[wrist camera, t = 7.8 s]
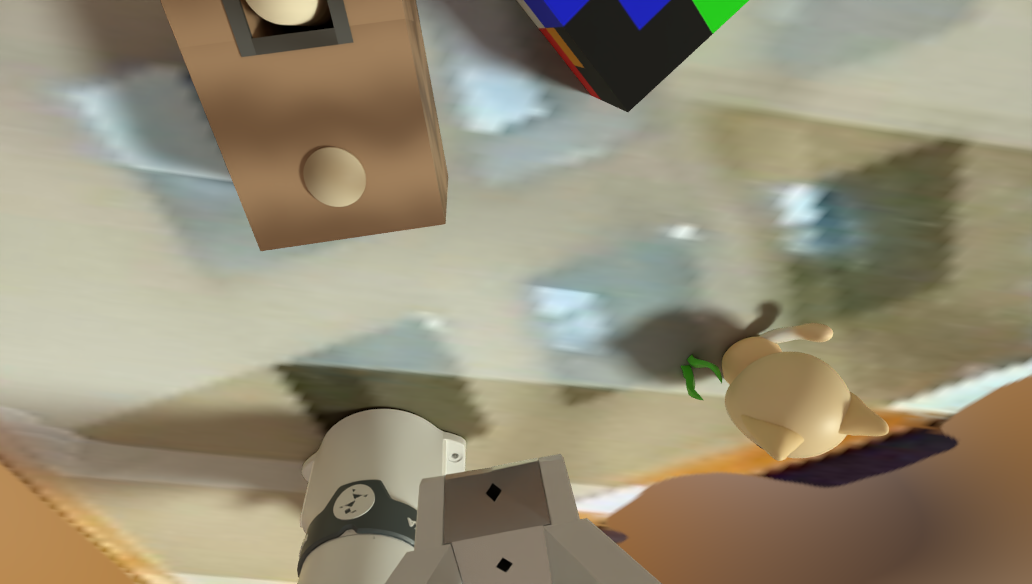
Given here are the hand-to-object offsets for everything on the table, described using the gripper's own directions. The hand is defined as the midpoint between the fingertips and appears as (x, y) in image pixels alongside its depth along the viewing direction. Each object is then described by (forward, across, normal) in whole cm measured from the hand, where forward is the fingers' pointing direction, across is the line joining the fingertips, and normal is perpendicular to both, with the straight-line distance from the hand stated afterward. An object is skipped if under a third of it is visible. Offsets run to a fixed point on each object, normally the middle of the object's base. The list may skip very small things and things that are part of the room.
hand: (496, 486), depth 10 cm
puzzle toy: (+35, +12, +10) cm, 39 cm away
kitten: (+36, +27, -27) cm, 52 cm away
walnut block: (+35, -8, +7) cm, 37 cm away
